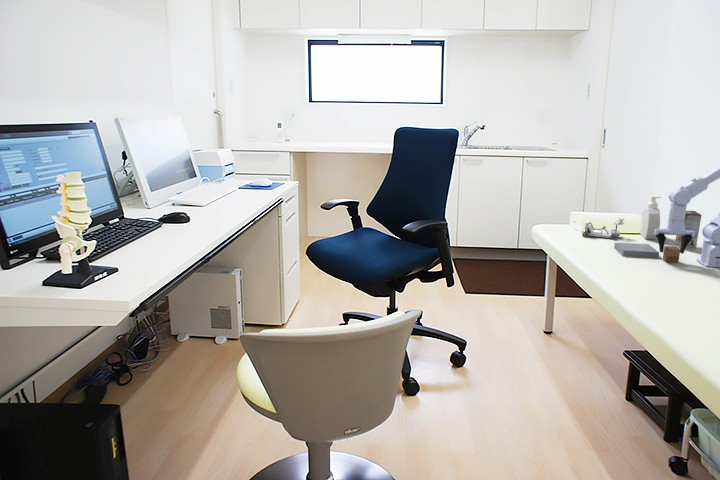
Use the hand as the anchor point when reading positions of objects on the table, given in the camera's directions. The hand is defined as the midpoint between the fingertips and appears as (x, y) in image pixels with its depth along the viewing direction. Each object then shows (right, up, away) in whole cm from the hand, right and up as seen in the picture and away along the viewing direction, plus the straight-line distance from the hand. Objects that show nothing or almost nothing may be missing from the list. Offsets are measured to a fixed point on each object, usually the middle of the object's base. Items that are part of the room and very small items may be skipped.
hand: (671, 252), depth 229 cm
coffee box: (+20, +2, +24) cm, 31 cm away
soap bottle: (+13, +6, +43) cm, 45 cm away
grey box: (-8, -1, +14) cm, 16 cm away
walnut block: (0, -4, +1) cm, 4 cm away
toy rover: (-9, +6, +45) cm, 46 cm away
